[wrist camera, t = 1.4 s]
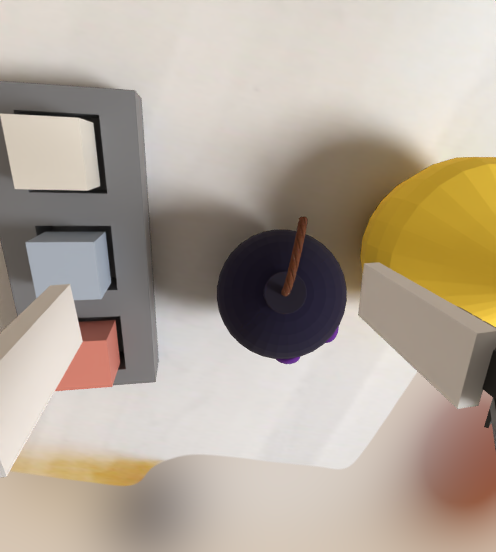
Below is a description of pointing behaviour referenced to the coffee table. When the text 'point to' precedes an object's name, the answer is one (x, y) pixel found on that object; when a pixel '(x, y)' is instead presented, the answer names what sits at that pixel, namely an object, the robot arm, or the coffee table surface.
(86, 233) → the key slate
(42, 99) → the console
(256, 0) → the coffee table surface
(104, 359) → the key brick
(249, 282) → the toy
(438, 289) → the vase
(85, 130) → the key ivory
